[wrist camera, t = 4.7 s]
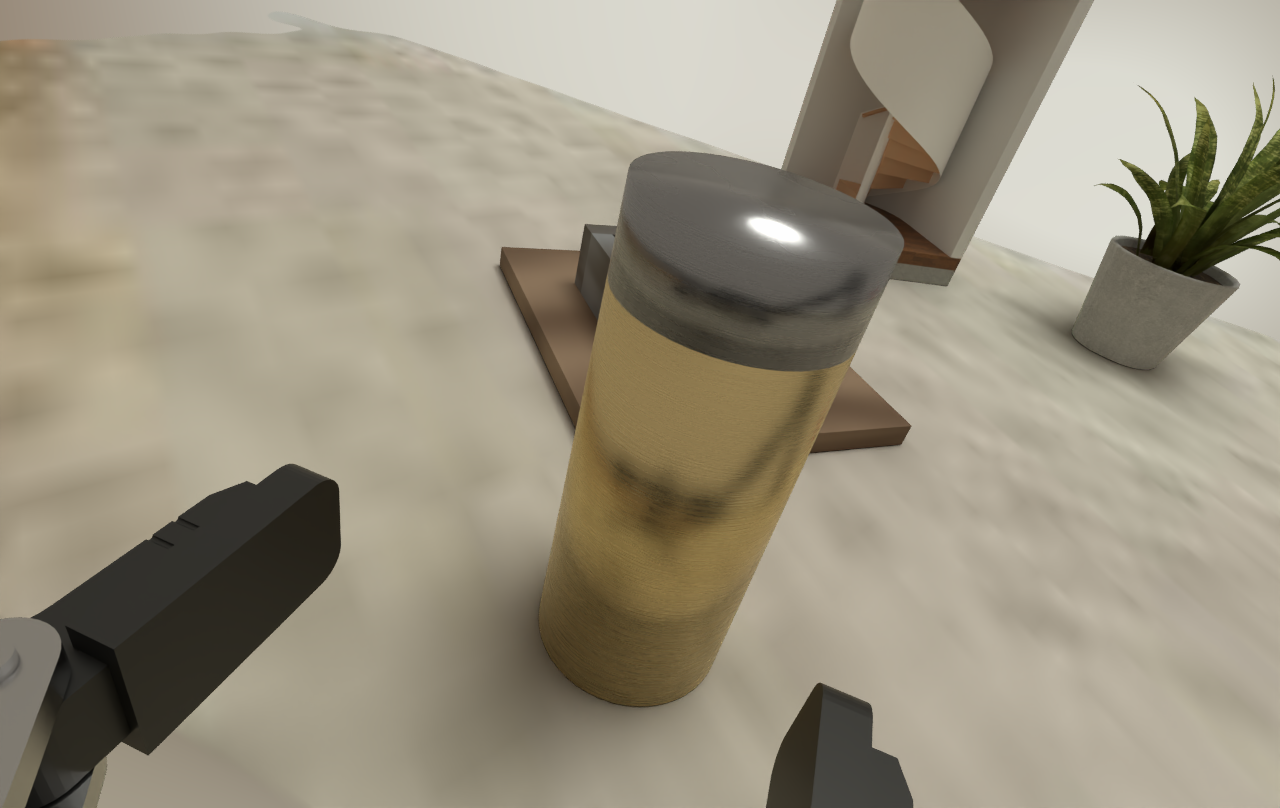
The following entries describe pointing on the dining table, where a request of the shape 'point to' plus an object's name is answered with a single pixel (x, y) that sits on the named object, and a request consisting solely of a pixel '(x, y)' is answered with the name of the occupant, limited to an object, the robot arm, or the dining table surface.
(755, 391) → the capped cylinder
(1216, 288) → the house plant
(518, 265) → the socket base
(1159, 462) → the dining table surface
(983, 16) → the white tall stand
